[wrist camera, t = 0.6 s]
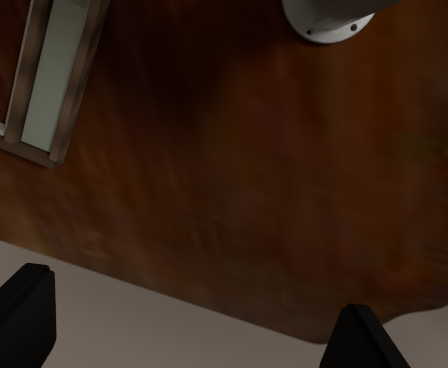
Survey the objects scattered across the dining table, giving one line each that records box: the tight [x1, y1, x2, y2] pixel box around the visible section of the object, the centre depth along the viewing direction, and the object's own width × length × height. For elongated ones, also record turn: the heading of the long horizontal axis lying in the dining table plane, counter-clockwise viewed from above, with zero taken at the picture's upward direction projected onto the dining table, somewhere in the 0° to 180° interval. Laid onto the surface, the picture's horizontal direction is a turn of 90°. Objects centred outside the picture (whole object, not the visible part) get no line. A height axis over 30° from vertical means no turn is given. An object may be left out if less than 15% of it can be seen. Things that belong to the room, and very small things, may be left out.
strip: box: [21, 0, 92, 152], centre depth 34 cm, size 22×4×7 cm, turn 155°
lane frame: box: [0, 0, 111, 169], centre depth 35 cm, size 24×19×3 cm
